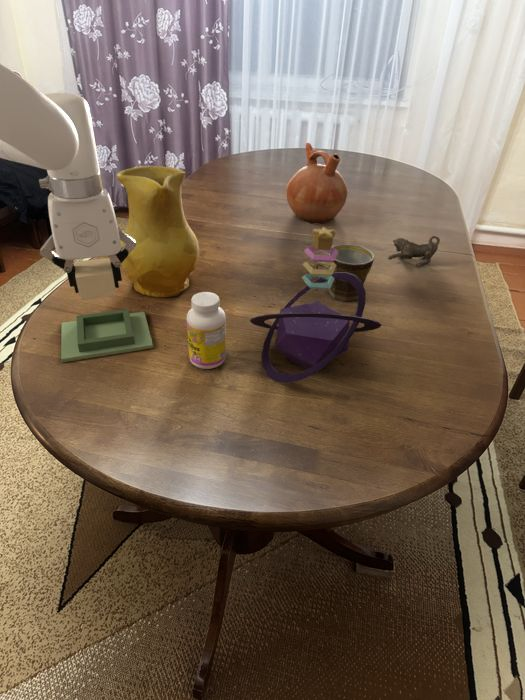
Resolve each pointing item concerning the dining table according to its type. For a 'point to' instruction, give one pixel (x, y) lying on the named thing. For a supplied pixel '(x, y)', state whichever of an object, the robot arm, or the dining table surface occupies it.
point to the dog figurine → (415, 250)
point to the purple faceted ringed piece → (314, 318)
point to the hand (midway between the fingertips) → (97, 285)
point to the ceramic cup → (350, 269)
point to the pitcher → (158, 231)
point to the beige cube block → (95, 278)
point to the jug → (317, 188)
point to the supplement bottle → (206, 331)
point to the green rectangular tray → (104, 335)
